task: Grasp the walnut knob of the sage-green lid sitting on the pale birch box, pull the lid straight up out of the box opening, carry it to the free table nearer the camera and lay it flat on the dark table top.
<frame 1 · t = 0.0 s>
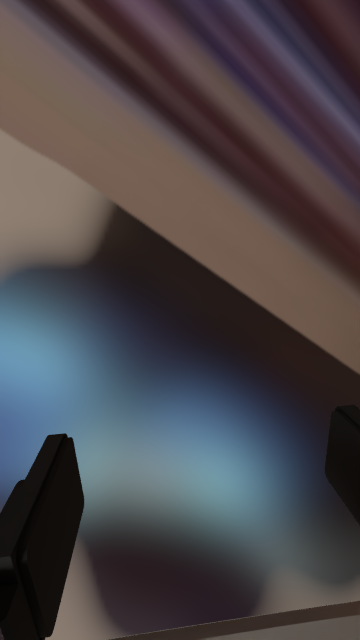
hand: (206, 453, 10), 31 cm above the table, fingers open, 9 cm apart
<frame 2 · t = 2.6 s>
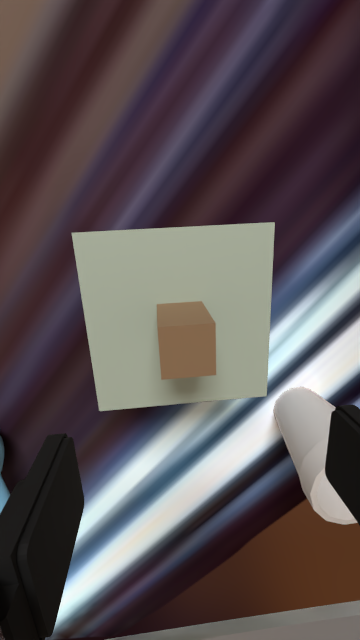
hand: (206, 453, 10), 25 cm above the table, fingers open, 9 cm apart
lid: (178, 315, 25), point 9 cm above the table, touching box
foam cup: (295, 406, 40), on the table
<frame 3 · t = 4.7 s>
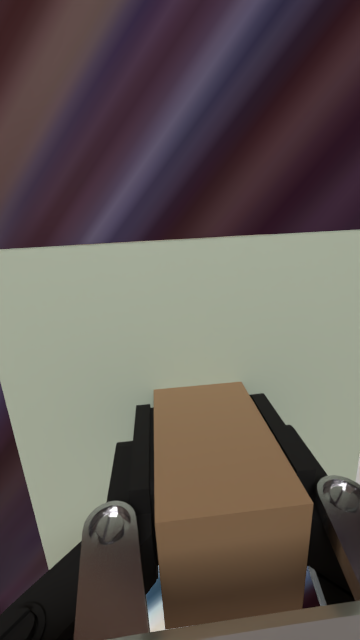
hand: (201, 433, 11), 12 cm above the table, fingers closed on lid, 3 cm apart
lid: (192, 394, 14), point 9 cm above the table, touching box, gripper
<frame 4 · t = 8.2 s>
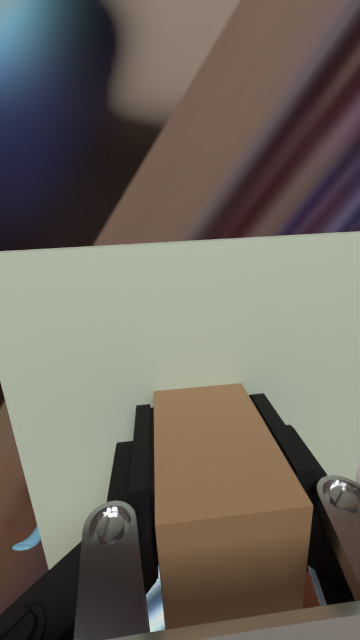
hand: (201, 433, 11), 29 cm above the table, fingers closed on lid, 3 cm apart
lid: (192, 396, 14), point 26 cm above the table, touching gripper
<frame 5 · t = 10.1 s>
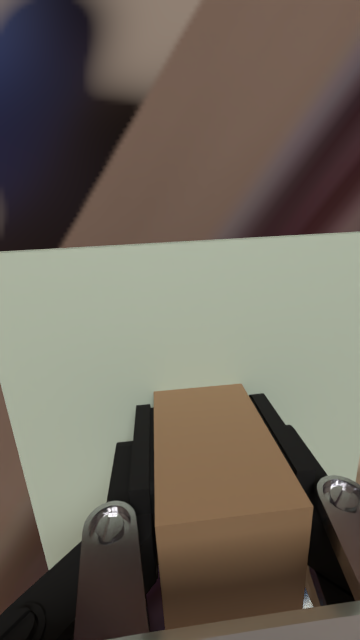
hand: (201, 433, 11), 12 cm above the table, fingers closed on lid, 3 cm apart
box: (352, 461, 29), on the table
lid: (192, 396, 14), point 10 cm above the table, touching gripper
when the fingers open (4 cm above the table, at t = 11.8 s): lid drops 2 cm, on the table.
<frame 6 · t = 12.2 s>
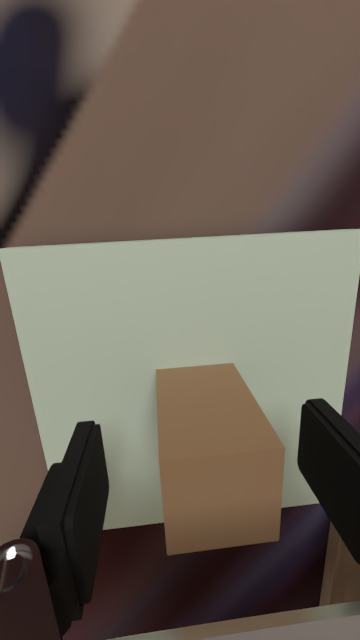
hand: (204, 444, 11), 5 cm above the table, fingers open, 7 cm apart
lid: (190, 377, 16), on the table
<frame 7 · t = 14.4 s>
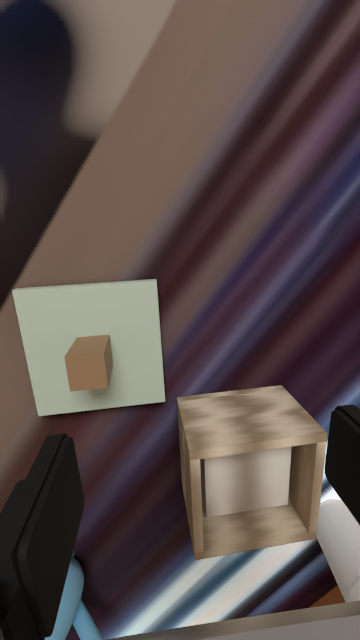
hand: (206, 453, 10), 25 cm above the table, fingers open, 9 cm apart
teapot: (41, 567, 42), on the table
box: (230, 436, 40), on the table
lid: (98, 344, 35), on the table
foam cup: (327, 513, 47), on the table
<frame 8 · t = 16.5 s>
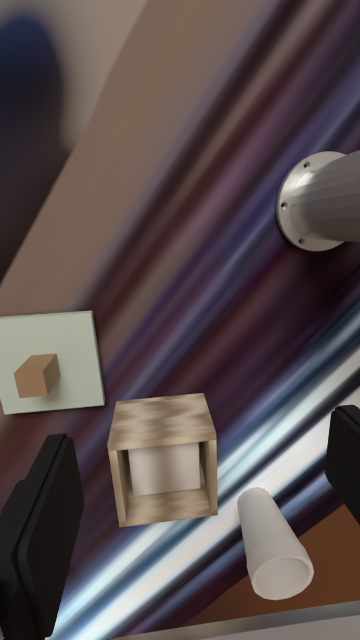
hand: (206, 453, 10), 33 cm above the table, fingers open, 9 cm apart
box: (163, 433, 49), on the table
lid: (51, 359, 44), on the table
foam cup: (253, 499, 56), on the table
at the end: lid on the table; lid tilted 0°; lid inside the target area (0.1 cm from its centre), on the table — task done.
